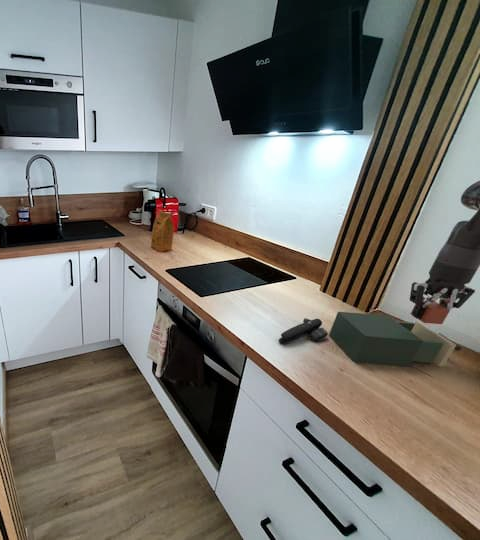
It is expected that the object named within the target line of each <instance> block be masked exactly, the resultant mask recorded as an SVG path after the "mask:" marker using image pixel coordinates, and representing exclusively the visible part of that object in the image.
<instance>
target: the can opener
mask: <svg viewBox="0 0 480 540" xmlns="http://www.w3.org/2000/svg"><path fill="white" fill-rule="evenodd" d="M322 325H323V321H322V320H321V319H320V318H314V319H309V318H307V317H305V318H303V321H302V323H299V324H297V325H295V326H293V327H290V328H288V329H287V330H285V331H283V332H282V333H280V338H279V339H278V343H279V344H281V345H287V344H290V343H293V342H295V341H297V340H299V339H301V338H303V337H305V336H307V338H309V339H310V340H311V341H313V342H319V341H322V340H323V339H325V338H327V336H329V332H328V331H327V330H326V329H325V328H324V327H321V326H322Z"/></svg>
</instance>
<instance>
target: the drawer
mask: <svg viewBox="0 0 480 540" xmlns="http://www.w3.org/2000/svg"><path fill="white" fill-rule="evenodd" d="M395 321H396V322H398V323H399V324H401V325H402V326H403V327H405V328H406V329H408V330H409V331H410V332H412V333H413V334H415V335H416V336H417V337H419V338H420V339H422V340H423V342H422V344H421V346H420V348H419V350H418V351H417V353H416V355H415V357H414V359H413V360H412V362H419V363H431V364H432V363H434V364H436V365H437V366H438V367H444V366H445V365H446V363H447V361H448V360H449V358H450V356H451V355H452V353H453V352H454V350H455V351H457V352H458V351H461V350H462V348H463V347H462V346H460V345H459V344H458V343H456V342H454V341H453V340H452V339H450V338H448V337H446V336H445V335H444V334H442V333H441V332H437V331H436V330H435V329H432V328H431V327H430V326H428V325H426V323H423V322H422V321H420V320H416V321H415V322H413V321H412V322H410V321H398V320H395Z"/></svg>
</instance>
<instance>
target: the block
mask: <svg viewBox="0 0 480 540" xmlns="http://www.w3.org/2000/svg"><path fill="white" fill-rule="evenodd" d="M425 301H426V300H424V301H423V302H425ZM415 305H416V304H415V303H414V306H413V307H412V309H411V311H410V315H411V316H412V311H413V310H414V307H415ZM426 308H427V309H426V311H425V313H424V314H423V316H422V318H421V319H418V321H420V322H422V323H423V324H432V325H443V324H444V322H445V320H446V318H447V317H448V315H449V313H450V311H451V309H450V310H449V309H448V308H446V307H444V306H442V305H440V304H439V302H437V301H435V302H432V303H431V304H430V305H429V306H428V307H426Z"/></svg>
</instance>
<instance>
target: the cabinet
mask: <svg viewBox="0 0 480 540" xmlns="http://www.w3.org/2000/svg"><path fill="white" fill-rule="evenodd" d="M396 321H397V320H395V319H394V318H392V317H391V316H389V315H388V314H387V315H386V314H374V313H361V312H349V311H347V312H346V311H337V312H336V315H335V318H334V320H333V323H332V326H331V328H330V330H329V333H328V336H329V338H330V339H331V340H332V341H333V342H334V343H335V344H336V345H337V346H338V347H339V349H341V351H342V352H343V353H344V354H345V355H346V356H347V357H348V358H349V359H350V361H352V362H353V363H360V364H368V365H369V364H370V365H380V366H392V367H405V368H410V366H411V364H412V362H413V361H412V360H413V359H414V357H415V355H416V353H417V351H418V350H419V348H420V346H421V344H422V342H423V340H422V339H420V338H419V337H417V336H416V335H415V334H413V333H412V332H410V331H409V330H408V329H406V328H405V327H403V326H402V325H401V324H399V323H398V322H396Z"/></svg>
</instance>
